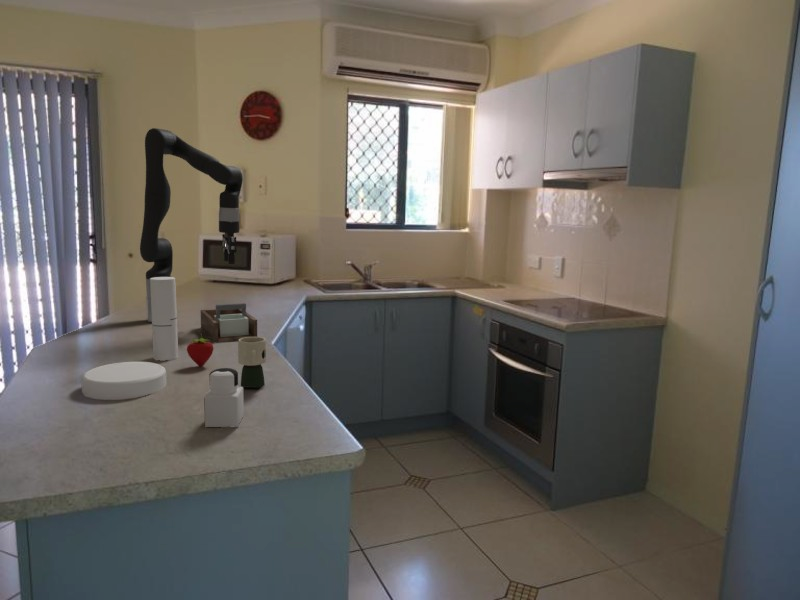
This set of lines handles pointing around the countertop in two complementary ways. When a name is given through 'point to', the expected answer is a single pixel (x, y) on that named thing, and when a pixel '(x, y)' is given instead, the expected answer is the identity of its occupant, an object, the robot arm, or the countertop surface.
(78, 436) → the countertop surface
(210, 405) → the medicine bottle
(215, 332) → the bay
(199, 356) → the strawberry
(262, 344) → the character mug
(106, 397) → the container
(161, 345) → the cylindrical container
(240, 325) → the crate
